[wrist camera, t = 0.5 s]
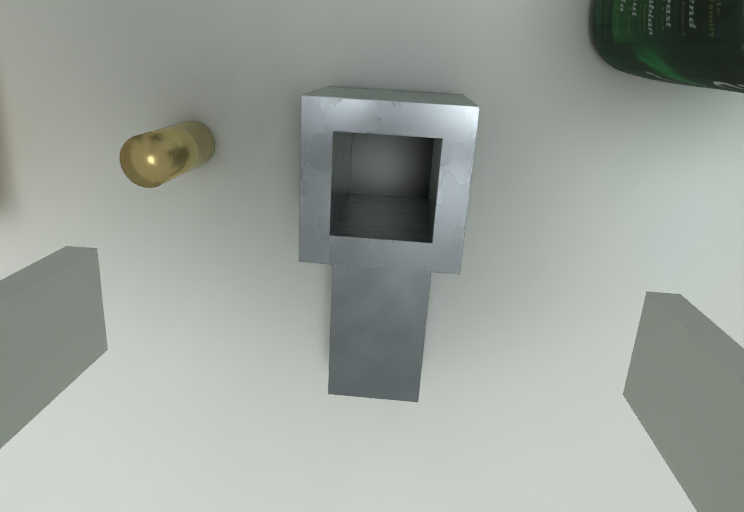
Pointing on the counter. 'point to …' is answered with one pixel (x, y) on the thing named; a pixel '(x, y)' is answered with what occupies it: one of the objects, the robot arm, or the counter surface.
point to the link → (382, 230)
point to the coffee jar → (674, 40)
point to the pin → (166, 153)
